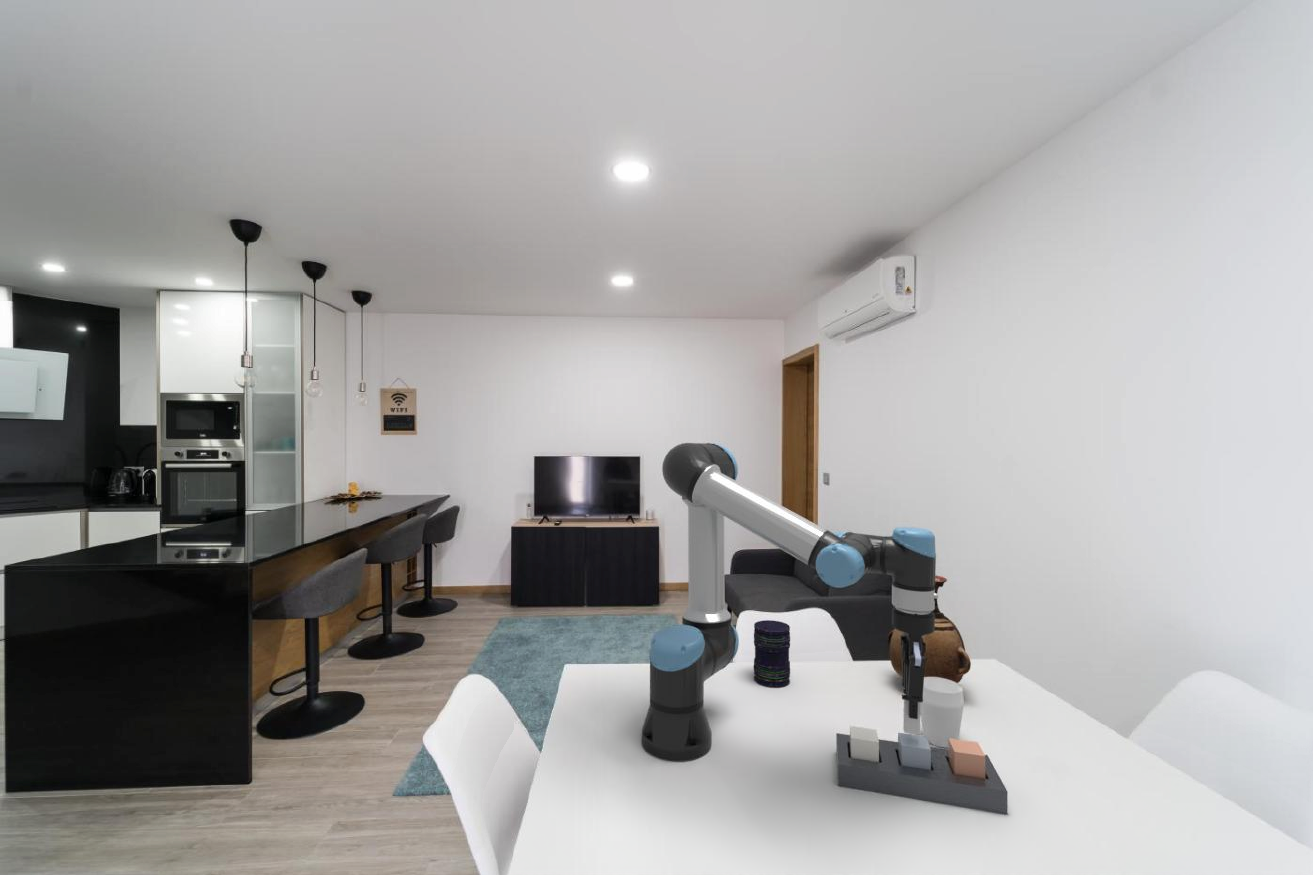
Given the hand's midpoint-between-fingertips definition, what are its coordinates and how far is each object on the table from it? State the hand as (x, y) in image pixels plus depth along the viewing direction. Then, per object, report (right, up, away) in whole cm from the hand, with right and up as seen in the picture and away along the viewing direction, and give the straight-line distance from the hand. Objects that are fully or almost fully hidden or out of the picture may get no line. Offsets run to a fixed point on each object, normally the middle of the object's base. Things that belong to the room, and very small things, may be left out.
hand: (911, 731), depth 106 cm
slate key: (0, -7, 0) cm, 7 cm away
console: (0, -9, 0) cm, 9 cm away
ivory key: (-8, -7, +2) cm, 11 cm away
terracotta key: (+9, -6, -3) cm, 11 cm away
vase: (+23, -10, +40) cm, 47 cm away
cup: (+13, -10, +14) cm, 22 cm away
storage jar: (-17, -10, +45) cm, 50 cm away
